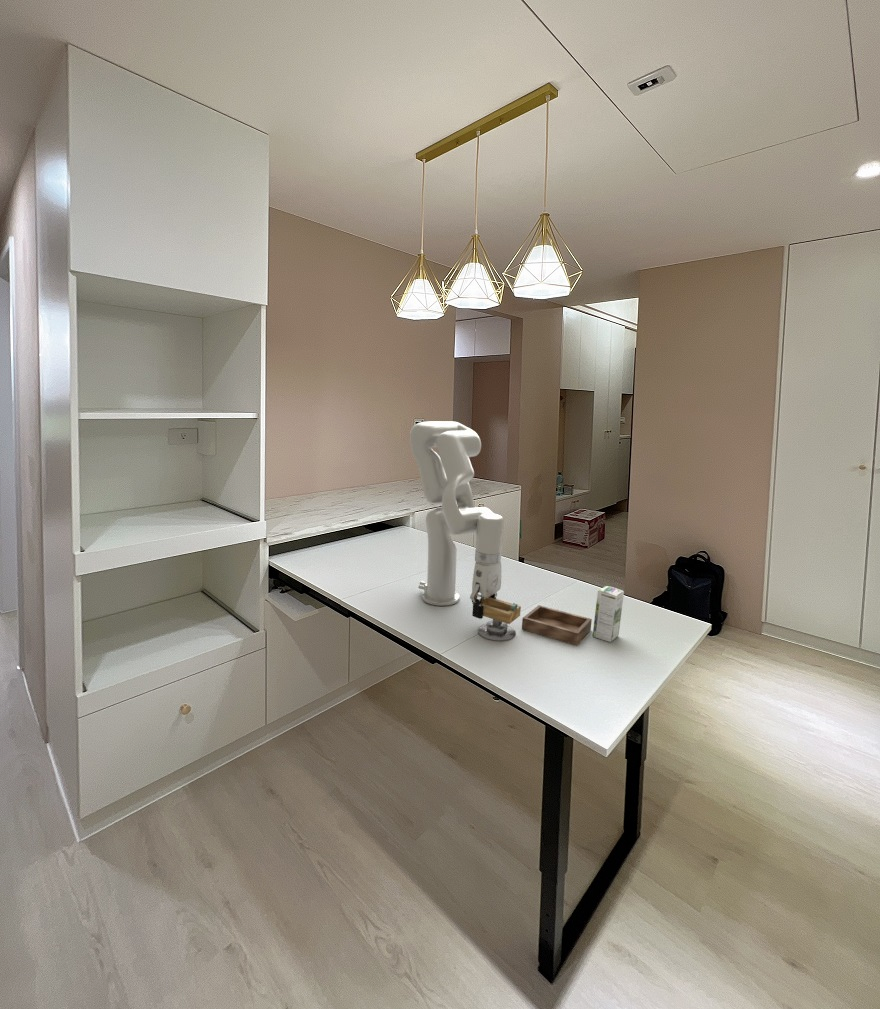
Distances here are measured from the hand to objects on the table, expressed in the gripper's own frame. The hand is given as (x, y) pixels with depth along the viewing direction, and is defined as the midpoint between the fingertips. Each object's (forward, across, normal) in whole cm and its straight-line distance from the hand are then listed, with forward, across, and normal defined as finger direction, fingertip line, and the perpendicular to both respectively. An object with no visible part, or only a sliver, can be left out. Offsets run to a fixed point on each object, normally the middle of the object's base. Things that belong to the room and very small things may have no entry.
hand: (484, 612), depth 159 cm
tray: (+5, +12, -18) cm, 22 cm away
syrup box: (+4, +17, -32) cm, 36 cm away
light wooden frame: (-1, 0, -4) cm, 4 cm away
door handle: (+5, 0, -5) cm, 7 cm away
